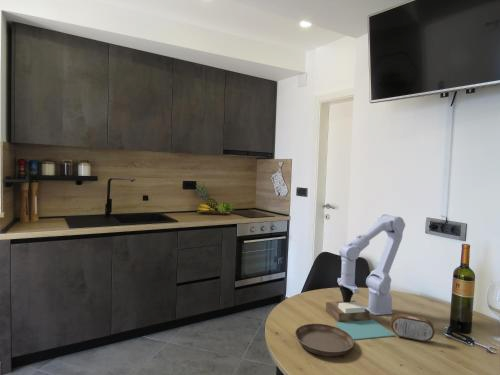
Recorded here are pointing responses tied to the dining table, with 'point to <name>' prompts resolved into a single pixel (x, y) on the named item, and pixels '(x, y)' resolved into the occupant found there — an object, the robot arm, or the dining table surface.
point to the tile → (351, 307)
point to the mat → (364, 329)
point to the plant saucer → (324, 339)
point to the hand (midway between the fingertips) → (346, 303)
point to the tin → (412, 327)
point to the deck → (345, 317)
